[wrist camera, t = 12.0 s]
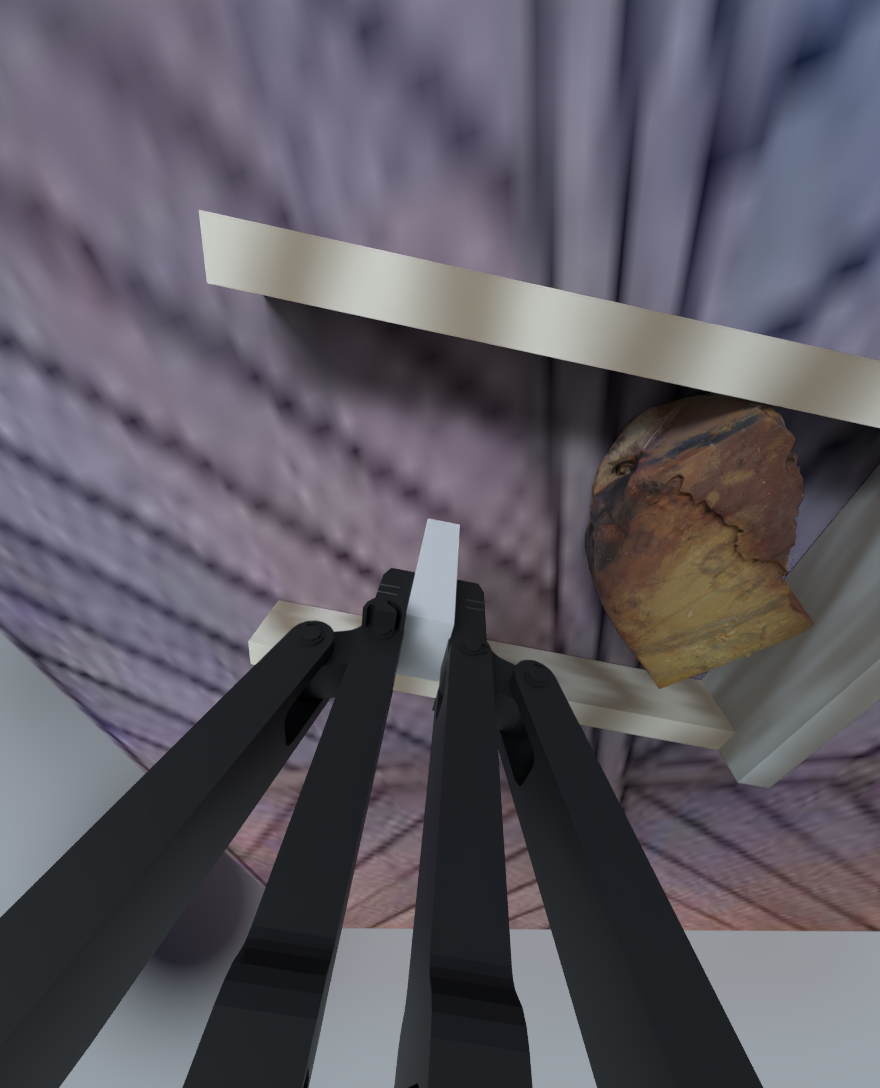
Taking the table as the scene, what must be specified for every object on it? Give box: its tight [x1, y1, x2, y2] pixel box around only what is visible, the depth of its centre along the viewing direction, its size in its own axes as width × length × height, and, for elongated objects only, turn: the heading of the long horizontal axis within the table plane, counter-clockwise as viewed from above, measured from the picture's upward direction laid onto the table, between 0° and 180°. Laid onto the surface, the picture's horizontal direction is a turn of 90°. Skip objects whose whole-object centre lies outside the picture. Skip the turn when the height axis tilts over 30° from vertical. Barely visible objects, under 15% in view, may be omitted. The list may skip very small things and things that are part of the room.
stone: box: [585, 393, 814, 689], centre depth 19 cm, size 15×9×5 cm, turn 30°
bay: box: [199, 210, 880, 788], centre depth 15 cm, size 34×26×12 cm
